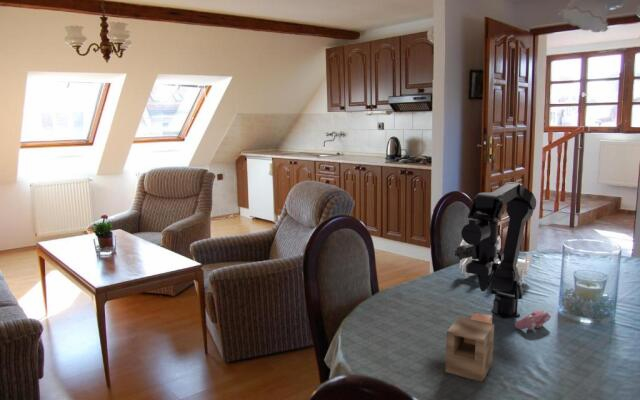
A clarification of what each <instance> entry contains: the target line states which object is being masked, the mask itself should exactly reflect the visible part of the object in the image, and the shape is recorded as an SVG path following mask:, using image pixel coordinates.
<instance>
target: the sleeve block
mask: <svg viewBox="0 0 640 400" xmlns="http://www.w3.org/2000/svg"><path fill="white" fill-rule="evenodd" d="M464 338H469V339H473V340H476V341H475V345H472V344H468V343H464ZM494 339H495V323H492V324H491V323H486V322H481V321H476V320H472V319H470V318H466V317H460V316H458V318H457V319H456V320H455V321H454V322H453V323H452V324H451V325H450V327H449V328H448V329H447V330H446V342H445V371H444V372H445V373H448V374H452V375H455V376H459V377H463V378H466V379H469V380H474V381H477V382H481V383H482V382H483V381H484V379H485V378H486V376H487V374H488V372H489V370H490V369H491V367H492V366H493V361H494V360H493V359H494Z"/></svg>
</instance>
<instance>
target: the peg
mask: <svg viewBox="0 0 640 400" xmlns="http://www.w3.org/2000/svg"><path fill="white" fill-rule="evenodd" d="M469 319H472V320H476V321H481V322H486V323H491V324H493V315H489V314H485V313H480V312H477V311H476V312H475V313H473V315H472V316H471V317H470V318H469ZM475 341H476V340H473V339H469V338H464V343H468V344H472V345H475Z"/></svg>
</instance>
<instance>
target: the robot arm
mask: <svg viewBox="0 0 640 400" xmlns="http://www.w3.org/2000/svg"><path fill="white" fill-rule="evenodd" d="M505 205H506V206H505ZM505 207H506V208H505ZM536 207H537V199H536V196H535V195H534V193H533V192H532V191H530V189H528V188H526V187H525V184H523V183H521V182H513V181H512V182H511V181H507V182H505V183H504V185H502V186H501V187H498V188H497V189H495V190H493V191H491V192H479V193H477V194H476V195H475V196H474V198H473V201H472V204H471V207H470V210H469V212H468V214H467V218H468V219H469V220H468V224H465V225H464V226H463V227H462V229H461V233H460V234H461V239H463V240H464V241H465V242H466V243H468V245H464V246H463V245H462V246H460V245H458V246H457V247H456V248H455V249H454V256H455V257H457V260H458V261H460V260H462V259H463V258H468V257H472V259H478V261H477V260H472V261H471V262H469V263H468V264H467V265H466V272H467V273H472V274H473V275H476V277H478V278H477V280H478V285H479V289H480V292H485V291H486V290H487V289H489V290H490V295H494V299H493V302H492V303H493V305H492V308H491V311H492V312H493V313H495V314H496V315H497V316H498V317H500V318H502V319H505V318H506V319H507V318H513V317H514V318H515V317H521V314H520V313H519V312H518V305H519V304H518V303H519V300H522V299H523V295H524V288H523V285H522V284H521V282H519V280H520V275H519V273H518V270H517V268H516V266H517V261H518V259H519V255H520V250H521V246H522V241H523V234H524V231H525V230H524V229H525V225H526V222H527V221H529V220H530V218H531V217H532V216H533V213H534V211H535V209H536ZM504 209H506V214H507V216H508V218H509V221H508V227H507V231H506V236H505V241H504V245H503V251H502V250H501V249H500V250H498V249H497V245H498V244H499V240H497V238H498V236H499V235H498V233H499V232H498V231H499V221H500V220H501V216H502V213H503V211H504ZM497 258H499V261H501V264H498V263H495V260H496V259H497Z"/></svg>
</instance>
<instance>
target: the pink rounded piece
mask: <svg viewBox="0 0 640 400" xmlns="http://www.w3.org/2000/svg"><path fill="white" fill-rule="evenodd" d="M551 317H552V316H551V315H550V314H549V312H547V311H545V310H544V309H543V310H542V311H541V310H534V311H532V312H531V313H529V314H527V315H526V316H524V317H523V318H521V319H519V320H517V321H516V322H515V323H514V326H515V328H516V329H517V330H525V329H528V331H533V330H534V328H535V327H536V329H538V328H541V327H542V326H543V325H544V324H546V323H547V322H548V321H549V320H551Z"/></svg>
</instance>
